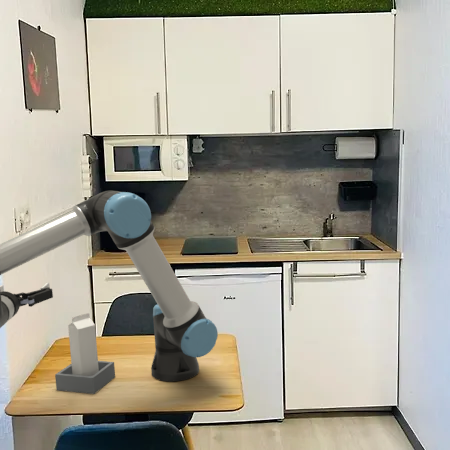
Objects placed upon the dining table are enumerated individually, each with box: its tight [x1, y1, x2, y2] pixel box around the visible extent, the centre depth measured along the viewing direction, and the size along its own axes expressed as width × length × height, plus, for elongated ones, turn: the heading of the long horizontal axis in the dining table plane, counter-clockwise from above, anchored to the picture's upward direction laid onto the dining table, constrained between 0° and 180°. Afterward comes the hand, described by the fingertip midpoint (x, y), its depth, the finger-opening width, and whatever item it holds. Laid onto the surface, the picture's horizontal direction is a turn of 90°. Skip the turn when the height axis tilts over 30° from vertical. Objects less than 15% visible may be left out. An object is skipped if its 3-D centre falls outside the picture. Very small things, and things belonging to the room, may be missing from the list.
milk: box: [67, 312, 99, 376], centre depth 191 cm, size 6×6×22 cm
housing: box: [54, 360, 116, 395], centre depth 193 cm, size 13×13×5 cm
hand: (25, 288), depth 185 cm, fingers open, 13 cm apart
